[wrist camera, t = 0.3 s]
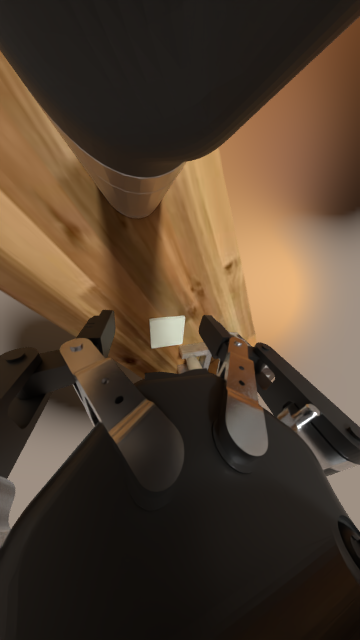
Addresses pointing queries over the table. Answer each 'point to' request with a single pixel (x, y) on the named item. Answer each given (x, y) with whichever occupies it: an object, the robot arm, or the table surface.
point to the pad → (166, 331)
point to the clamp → (194, 355)
